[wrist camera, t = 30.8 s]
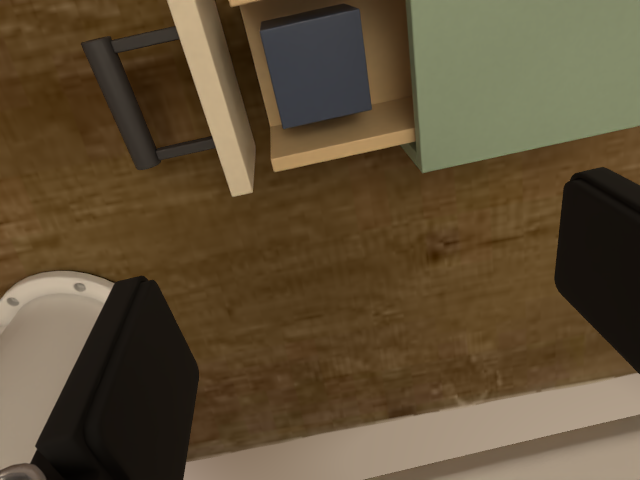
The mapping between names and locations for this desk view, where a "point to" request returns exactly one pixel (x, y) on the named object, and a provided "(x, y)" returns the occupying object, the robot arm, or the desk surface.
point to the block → (317, 64)
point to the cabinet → (519, 75)
